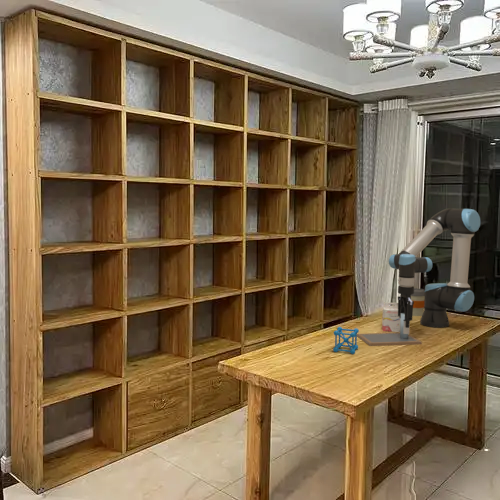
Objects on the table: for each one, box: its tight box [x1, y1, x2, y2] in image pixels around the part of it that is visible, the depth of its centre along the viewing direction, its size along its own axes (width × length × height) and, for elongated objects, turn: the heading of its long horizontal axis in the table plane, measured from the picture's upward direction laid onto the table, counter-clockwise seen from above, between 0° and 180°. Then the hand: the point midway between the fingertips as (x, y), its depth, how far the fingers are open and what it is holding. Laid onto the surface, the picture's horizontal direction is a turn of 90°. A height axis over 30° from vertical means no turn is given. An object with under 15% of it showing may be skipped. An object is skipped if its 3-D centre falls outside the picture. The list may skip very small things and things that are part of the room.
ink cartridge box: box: [381, 302, 400, 333], centre depth 280 cm, size 9×5×15 cm, turn 84°
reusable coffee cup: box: [411, 287, 425, 317], centre depth 320 cm, size 13×13×15 cm
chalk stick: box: [399, 313, 408, 339], centre depth 261 cm, size 4×4×12 cm
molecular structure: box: [332, 326, 360, 355], centre depth 242 cm, size 10×10×10 cm
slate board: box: [357, 332, 423, 347], centre depth 262 cm, size 26×18×1 cm
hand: (404, 332), depth 262 cm, fingers closed on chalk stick, 4 cm apart
